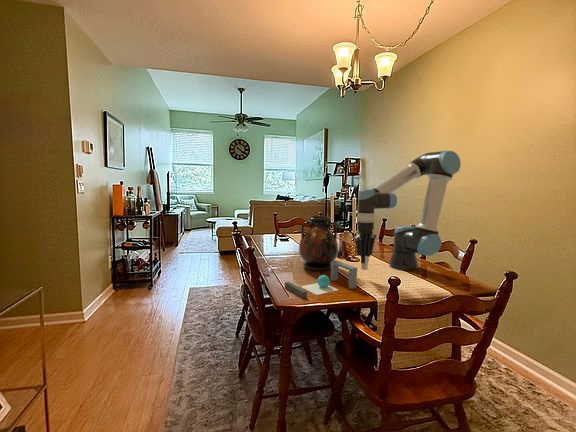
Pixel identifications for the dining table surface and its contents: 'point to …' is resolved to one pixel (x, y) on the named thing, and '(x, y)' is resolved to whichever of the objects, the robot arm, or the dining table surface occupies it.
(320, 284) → the ball
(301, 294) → the stopper
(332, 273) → the bridge
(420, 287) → the dining table surface
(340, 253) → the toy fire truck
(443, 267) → the dining table surface
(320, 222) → the amphora vase
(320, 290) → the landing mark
